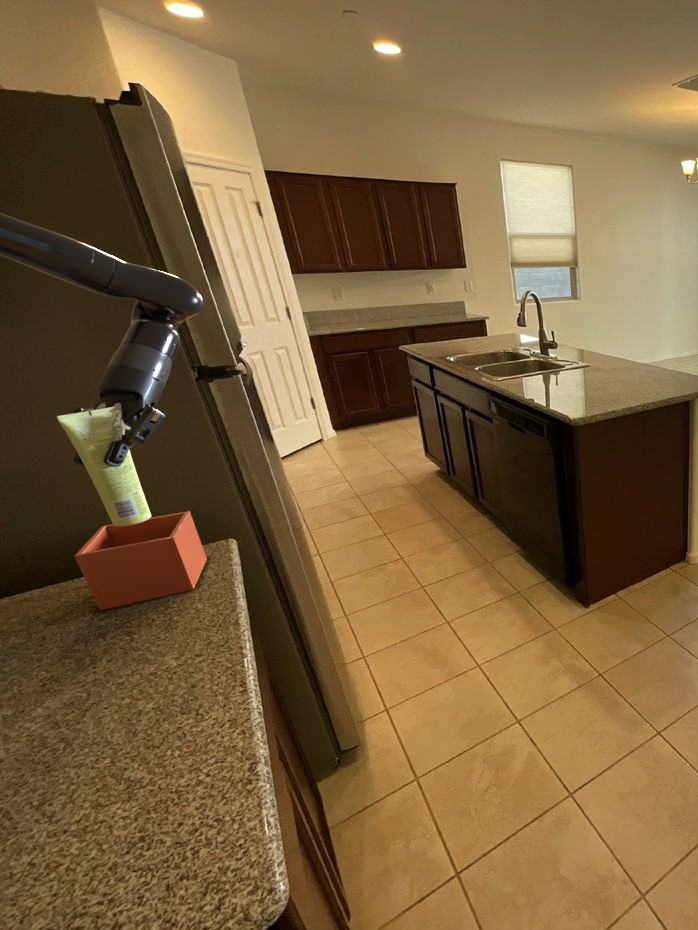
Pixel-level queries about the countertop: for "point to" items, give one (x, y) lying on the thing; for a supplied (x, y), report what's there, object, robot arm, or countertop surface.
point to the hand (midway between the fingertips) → (96, 464)
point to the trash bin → (142, 560)
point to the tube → (112, 483)
